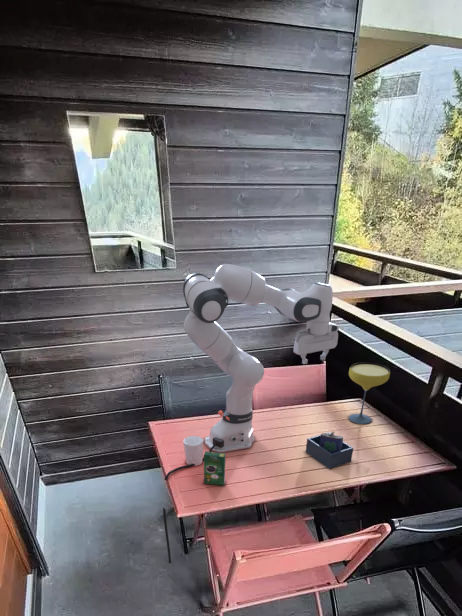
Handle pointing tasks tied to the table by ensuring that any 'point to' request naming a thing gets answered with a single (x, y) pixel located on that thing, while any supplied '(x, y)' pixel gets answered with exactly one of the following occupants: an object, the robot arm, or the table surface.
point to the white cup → (193, 450)
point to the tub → (328, 453)
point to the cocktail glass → (367, 383)
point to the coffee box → (214, 468)
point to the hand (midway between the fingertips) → (313, 361)
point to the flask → (331, 442)
